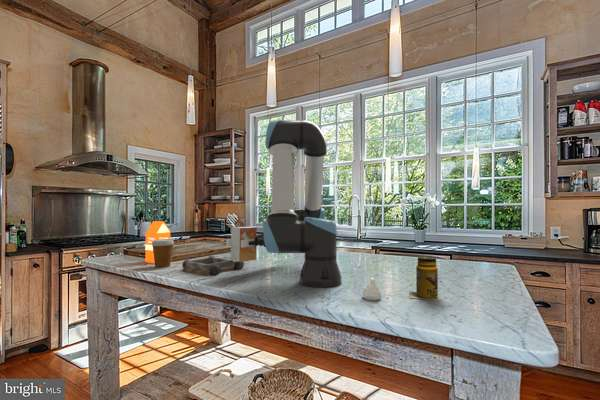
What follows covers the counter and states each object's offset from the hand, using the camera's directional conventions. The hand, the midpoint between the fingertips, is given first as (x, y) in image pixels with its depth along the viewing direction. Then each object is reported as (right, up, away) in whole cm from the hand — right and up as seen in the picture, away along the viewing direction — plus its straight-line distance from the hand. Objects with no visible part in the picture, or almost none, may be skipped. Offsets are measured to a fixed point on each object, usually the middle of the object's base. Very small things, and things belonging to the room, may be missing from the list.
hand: (234, 243), depth 118 cm
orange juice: (-46, -14, +35) cm, 59 cm away
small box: (+3, -7, +4) cm, 9 cm away
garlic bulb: (+47, -13, -25) cm, 55 cm away
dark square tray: (-13, -14, +16) cm, 25 cm away
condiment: (+63, -13, -23) cm, 69 cm away
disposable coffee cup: (-38, -14, +22) cm, 46 cm away
